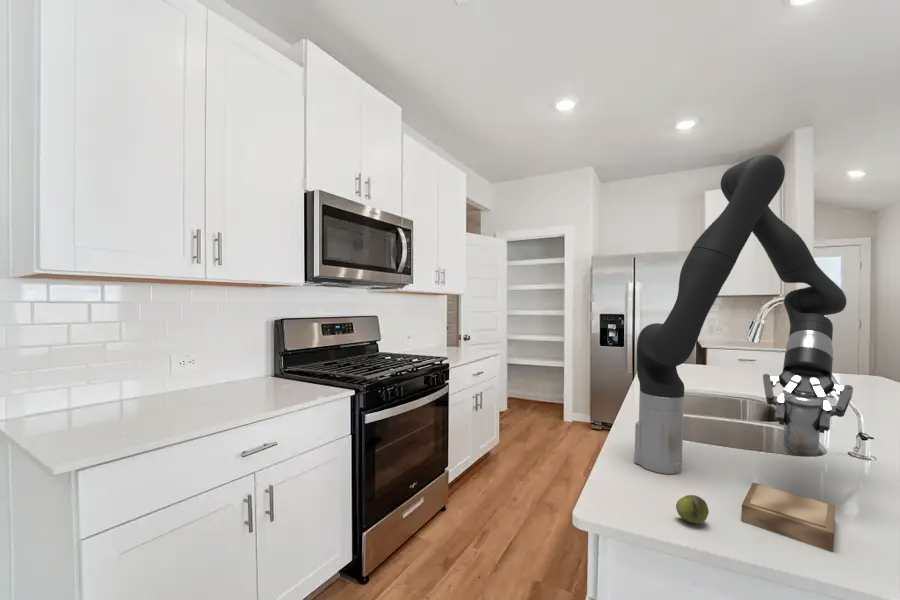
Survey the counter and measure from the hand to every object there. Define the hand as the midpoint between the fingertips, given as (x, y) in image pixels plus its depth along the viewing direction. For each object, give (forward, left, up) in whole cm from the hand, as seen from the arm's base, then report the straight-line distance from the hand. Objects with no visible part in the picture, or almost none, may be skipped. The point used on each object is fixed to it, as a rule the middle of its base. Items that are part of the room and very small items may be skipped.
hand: (801, 426), depth 77 cm
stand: (-1, -7, -16) cm, 17 cm away
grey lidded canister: (0, +2, -5) cm, 5 cm away
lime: (-13, -20, -16) cm, 29 cm away
